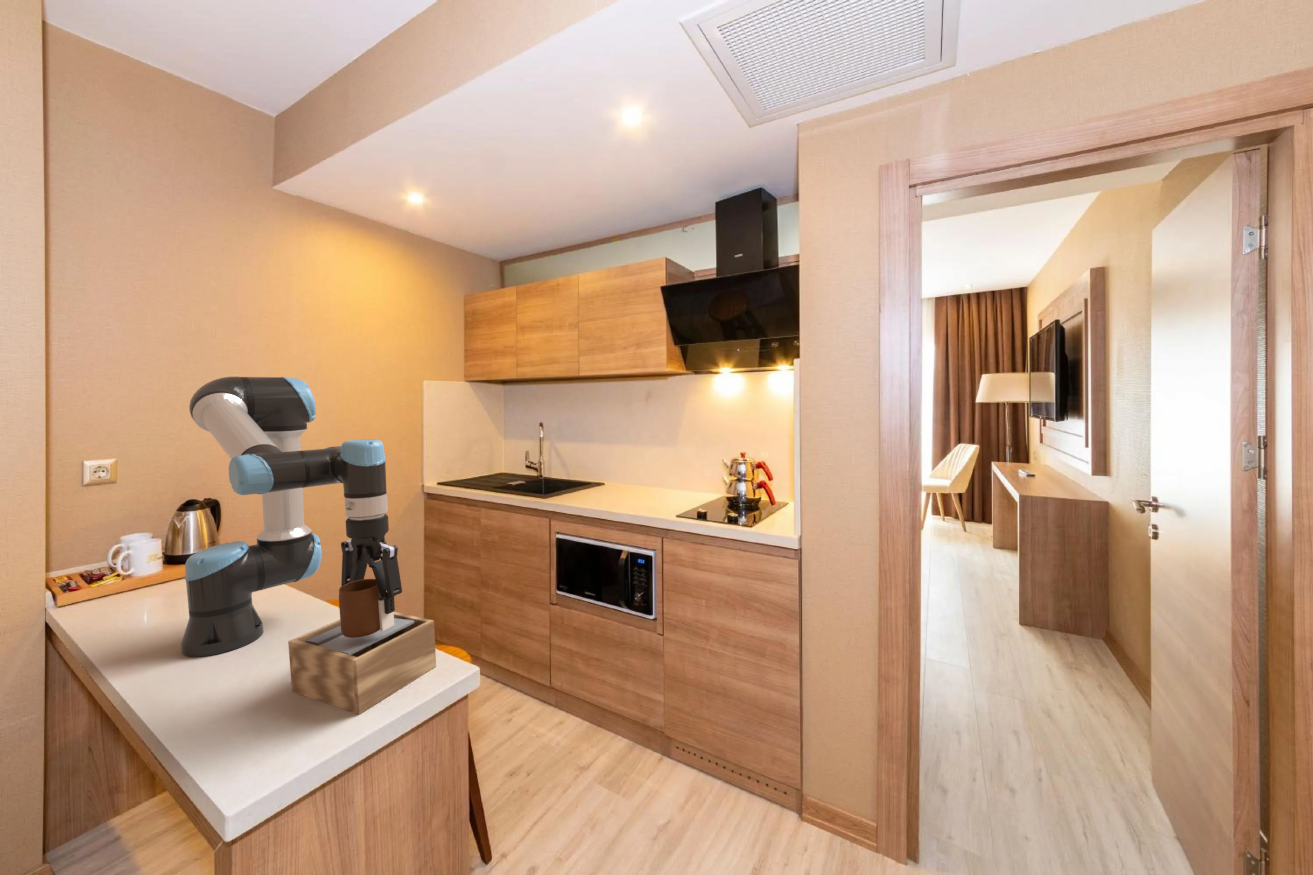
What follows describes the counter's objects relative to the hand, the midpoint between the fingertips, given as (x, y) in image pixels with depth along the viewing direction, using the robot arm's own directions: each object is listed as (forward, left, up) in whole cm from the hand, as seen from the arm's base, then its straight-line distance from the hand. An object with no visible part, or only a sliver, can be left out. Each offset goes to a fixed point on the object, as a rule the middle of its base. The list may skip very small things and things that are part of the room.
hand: (373, 624), depth 103 cm
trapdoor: (-4, 0, -6) cm, 7 cm away
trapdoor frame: (-3, 0, -12) cm, 13 cm away
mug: (0, 0, 0) cm, 0 cm away
